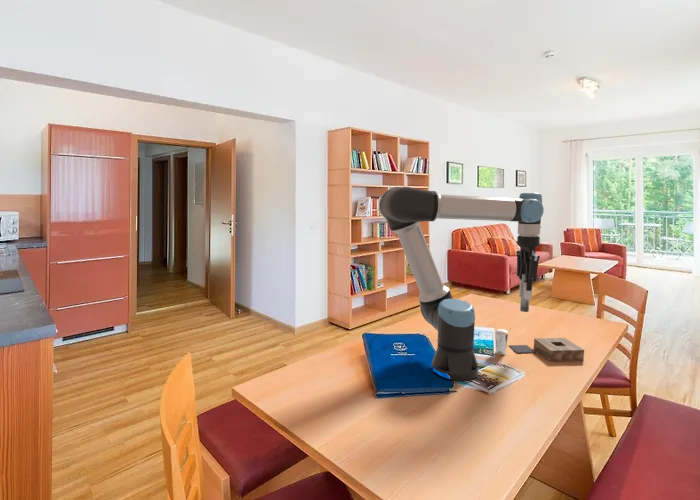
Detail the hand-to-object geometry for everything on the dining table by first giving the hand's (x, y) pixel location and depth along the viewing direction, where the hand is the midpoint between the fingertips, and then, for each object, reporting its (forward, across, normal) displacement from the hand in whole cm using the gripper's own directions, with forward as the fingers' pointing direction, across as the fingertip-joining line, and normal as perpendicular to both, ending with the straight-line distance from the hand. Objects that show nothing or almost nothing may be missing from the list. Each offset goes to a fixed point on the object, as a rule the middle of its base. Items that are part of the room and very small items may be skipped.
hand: (525, 297), depth 148 cm
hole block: (+20, -5, -11) cm, 24 cm away
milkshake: (+21, -3, +9) cm, 23 cm away
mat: (+20, 0, 0) cm, 20 cm away
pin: (+5, 0, 0) cm, 5 cm away
